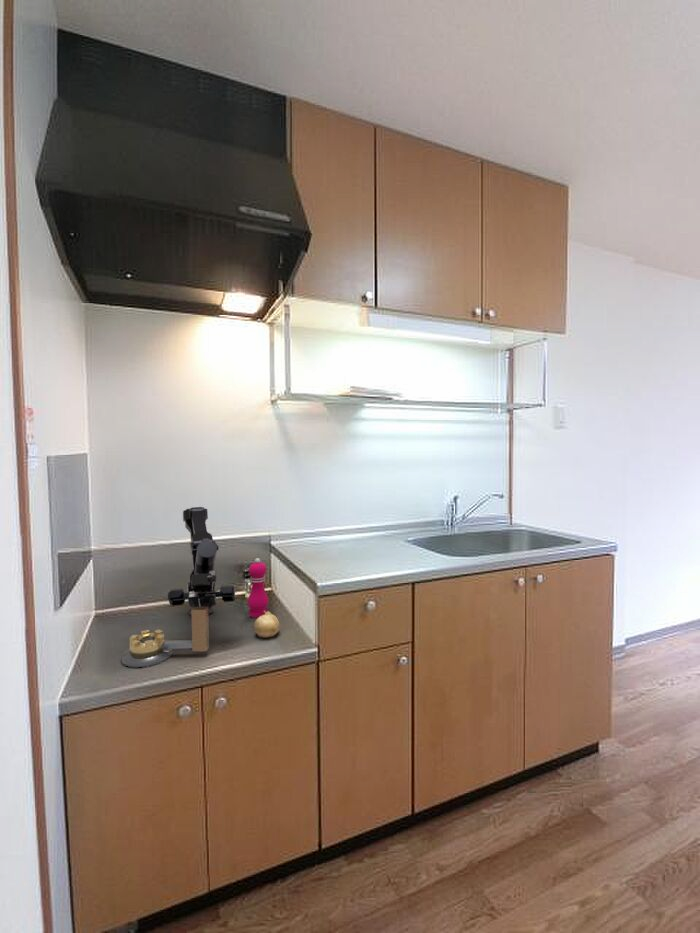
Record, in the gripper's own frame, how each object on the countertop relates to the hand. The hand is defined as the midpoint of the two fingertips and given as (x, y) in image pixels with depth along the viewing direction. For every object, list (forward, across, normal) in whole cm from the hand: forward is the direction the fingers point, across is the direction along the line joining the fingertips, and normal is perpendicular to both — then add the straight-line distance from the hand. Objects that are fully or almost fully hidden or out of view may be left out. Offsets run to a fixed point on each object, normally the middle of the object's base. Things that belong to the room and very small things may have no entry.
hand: (200, 623), depth 126 cm
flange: (+5, -15, +7) cm, 17 cm away
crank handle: (+5, -9, +5) cm, 11 cm away
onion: (+1, +19, +12) cm, 22 cm away
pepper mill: (-11, +16, +24) cm, 31 cm away
